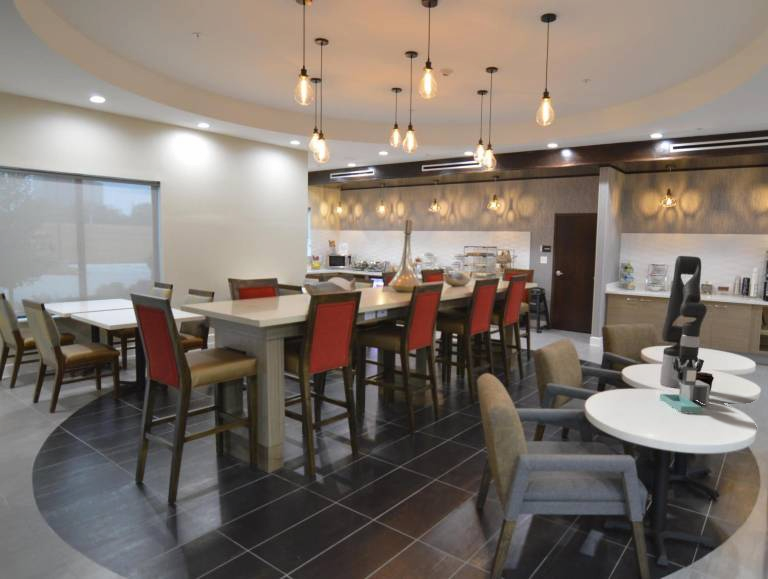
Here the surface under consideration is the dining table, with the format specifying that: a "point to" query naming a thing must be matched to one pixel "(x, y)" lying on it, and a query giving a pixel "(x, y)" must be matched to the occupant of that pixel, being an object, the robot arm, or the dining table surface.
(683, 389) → the light grey block
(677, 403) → the tray
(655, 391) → the dining table surface
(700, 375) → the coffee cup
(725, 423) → the dining table surface
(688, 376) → the tall grey pillar
